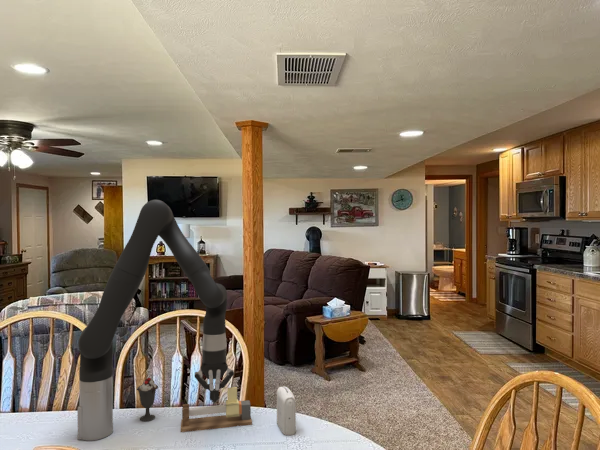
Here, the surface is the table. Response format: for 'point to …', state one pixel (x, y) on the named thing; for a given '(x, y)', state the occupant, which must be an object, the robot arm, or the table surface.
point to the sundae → (147, 397)
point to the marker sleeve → (232, 403)
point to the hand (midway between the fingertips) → (214, 401)
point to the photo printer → (286, 411)
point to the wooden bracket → (209, 421)
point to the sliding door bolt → (223, 410)
